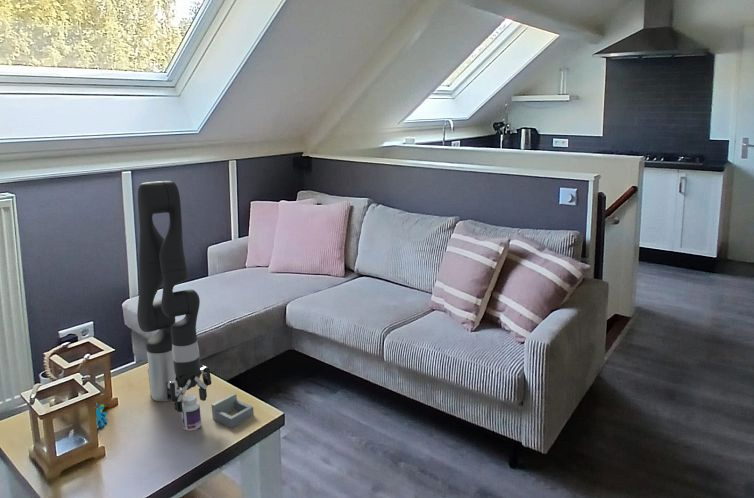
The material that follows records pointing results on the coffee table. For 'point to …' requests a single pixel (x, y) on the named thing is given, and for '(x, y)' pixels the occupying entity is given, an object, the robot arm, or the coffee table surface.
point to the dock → (229, 405)
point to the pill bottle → (191, 413)
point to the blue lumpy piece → (101, 416)
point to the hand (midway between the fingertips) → (191, 405)
